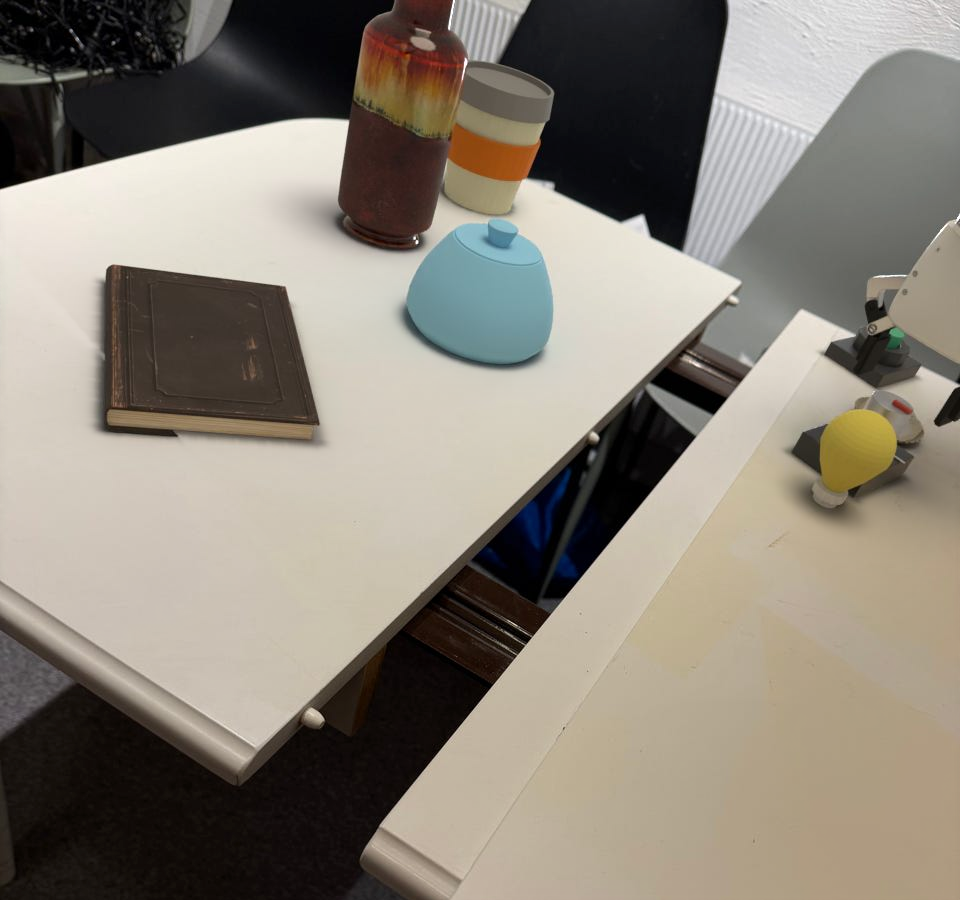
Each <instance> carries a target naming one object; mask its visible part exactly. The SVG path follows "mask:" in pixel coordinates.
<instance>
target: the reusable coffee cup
mask: <svg viewBox="0 0 960 900" xmlns="http://www.w3.org/2000/svg"><path fill="white" fill-rule="evenodd" d="M554 96H555V91H554V89H553V88H552V87H551V86H550V85H549V84H547V83H545V82H544V81H543V80H541V79H539V78H537V77H535V76H534V75H531V74H529V73H527V72H524V71H521V70H518V69H516V68H513V67H510V66H508V65H507V66H506V65H503V64H499V63H495V62H491V61H486V60H485V61H484V60H477V59H476V60H475V59H470V60H469V59H468V67H467V72H466V76H465V81H464V86H463V91H462V95H461V100H460V104H459V109H458V113H457V118H456V122H455V126H454V131H453V135H452V140H451V144H450V149H449V153H448V158H447V162H446V166H445V176H444V177H445V178H444V188H443V191H444V194H445V196H446V197H447V198H448V199H450V200H451V201H452V202H454V203H455V204H457V205H458V206H461V207H463V208H465V209H468V210H471V211H474V212H477V213H482V214H487V215H494V216H495V215H505V214H507V213H510V211H511V208H512V206H513V204H514V202H515V199H516V196H517V194H518V191H519V189H520V187H521V184H522V181H523V180H526V179H527V178H528V176H529V173H530V171H531V168H532V165H533V163H534V160H535V158H536V156H537V153H538V150H539V149H540V146H541V143H542V142H541V140H542V139H541V138H540V137H541V134H542V132H543V130H544V127H545V125H546V123H547V122H548V121H550V119H551V113H552V107H553V101H554V98H555V97H554Z"/></svg>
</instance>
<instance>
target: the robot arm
mask: <svg viewBox="0 0 960 900" xmlns="http://www.w3.org/2000/svg"><path fill="white" fill-rule="evenodd" d="M895 290H898V291H897V293H896V295H895V296H894V298H893V300H892V302H891V304H890V306H889V309H888V313H887V309H886V308H887V307H886V304H885V300H884V297H885V293H886V291H895ZM865 296H866V302H865V304H864V311H865V316H866V320H867V324H868V325H866V326H867V333H868V336H867V338H866V340H865V342H864V344H863V345H862V347H861V349H860V351H859V353H858V355H857V356H856V361H858V362H857V364H856V366H855V368H854V369H853V373H855V374H856V375H861V374H864V373H867V372H870V371H873V370H874V368H875V366H876V365H877V363H878V361H879V359H880V358H881V356H882V354H883V352H884V350H885V349H886V347H887V345H888V343H889V342H890V340H891V334H889V333H890V330H892V329H894V328H898V329H900V330H901V331H902V332H903V333H904V334H906V335H908V336H910V337H912V338H913V339H915V340H916V341H918V342H920V343H921V344H923V345H925V346H926V347H928V348H930V349H931V350H933V351H935V352H937V353H938V354H940V355H942V357H945V358H946V359H948V360H950V361H952V362H954V363H956V364H958V365H960V214H959V215H958V217H957V219H955V218H954V219H952V220H949V221H948V222H947V223H946V224H945V225H944V226H943V227H942V229H940V231H939V232H938V234H936V236H935V237H934V238H933V240H932V241H931V242H930V244H929V245H928V246H927V247H926V249H925V250H924V252H923V253H922V254H921V256H920V257H919V258H918V260H917V261H916V263H915V264H914V266H913V267H912V269H911V270H910V272H909V273H908V274H895V275H893V274H892V275H876V276H870V277H869V278H868V279H867V282H866V294H865ZM853 373H852V374H853ZM855 374H854V375H855ZM856 375H855V376H856ZM959 420H960V386H957V387H955V388H953V390H952V391H951V393H950V394H949V396H948V398H947V399H946V401H945V402H944V404H943V405H942V407H941V409H940V410H939V411H938V413H937V414H936V417H934V420H933V423H934V425H935V426H936V427H938V428H940V427H943V426H945V425H948V424H951V423H952V422H954V423H957V422H958V421H959Z"/></svg>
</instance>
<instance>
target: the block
mask: <svg viewBox="0 0 960 900" xmlns="http://www.w3.org/2000/svg"><path fill="white" fill-rule="evenodd" d="M867 326H868V325H865V326H860V327H859V328H858V330H857V332H856V334H855V336H851V337H847V338H841V339H837V340H833V341H831V342H830V343H829V345H828V346H827V348H826V350H825V352H824V354H823V355H824V356H825V357H827V358H829V359H830V360H831V361H833V362H834V363H836V364H838V365H839V366H841V367H843V368H844V369H845V370H847V371H848V372H850V373H851V374H853V375H855V376H856V377H857V378H859V379H861V380H862V381H864V382H866V383H867V384H869V385H870V386H872V387H873V388H874V389H880V388H882V387H885V386H889V385H892V384H895V383H898V382H902V381H905V380H909V379H911V378H915V377H916V375H917V374H918V372H919V370H920V368H921V367H922V365H923V364H922V363H921V362H919V361H917V360H916V359H915V358H912V357H911V356H909V354H910V352H911V349H910V348H911V347H910V346H909V345H908V344H907V343H906V342H905V341H904V340H903V339H902V341H901V343H900V344H899V346H898V348H897V349H893V348H888V347H886V349H885V350H884V352H883V354H882V356H881V358H880V359H879V361H878V363H877V365H876V366H875V368H874V370H873V371H870V372H867V373H864V374H861V375H856V374H855V373H853V369H854V368H855V366H856V364H857V362H858V361H856V356H857V355H858V353H859V351H860V349H861V347H862V345H863V344H864V342H865V340H866V338H867V336H868V333H867Z"/></svg>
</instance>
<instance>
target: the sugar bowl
mask: <svg viewBox="0 0 960 900" xmlns="http://www.w3.org/2000/svg"><path fill="white" fill-rule="evenodd" d="M519 230H520V229H519V227H517V225H515V224H514V223H513V222H511V221H509V220H507V219H503V218H490V219H488V220H487V223H482V222H481V223H480V222H469V223H464V224H461V225H459V226H457V227H455V228H454V229H453V230H451V231H449V233H448V234H446V235H445V236H444V237H443V238H442V239H441V240H440V241H439V242H438V243H437V244H436V245H435V246H434V247H433V248H431V250H430V252H429V253H427V255H426V256H425V257H424V258H423V260H422V262H421V263H420V265H419V266H418V268H417V269H416V271H415V273H414V275H413V277H412V280H411V281H410V284H409V287H408V291H407V295H406V307H407V311H408V313H409V315H410V317H411V319H412V321H413V323H414V325H415V327H416V328H417V329H418V331H419V332H420V333H421V334H422V335H423V336H424V337H425V338H426V339H427V340H428V341H430V342H431V343H433V344H434V345H436V346H437V347H439V348H441V349H443V350H445V351H446V352H449V353H451V354H453V355H456V356H457V357H461V358H464V359H468V360H471V361H474V362H479V363H484V364H491V365H511V364H516V363H520V362H524V361H526V360H528V359H530V358H531V357H533V356H535V355H536V354H538V353H540V352H541V351H542V350H543V349H544V347H545V346H547V344H548V342H549V339H550V337H551V333H552V329H553V324H554V323H553V322H554V295H553V290H552V284H551V280H550V276H549V272H548V269H547V264H546V262H545V259H544V255H543V254H542V251H540V249H539V247H538V246H537V245H536V244H535V243H534V242H532V240H530V239H528V238H526V237H524V236H523V235H521V234H519Z"/></svg>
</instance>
